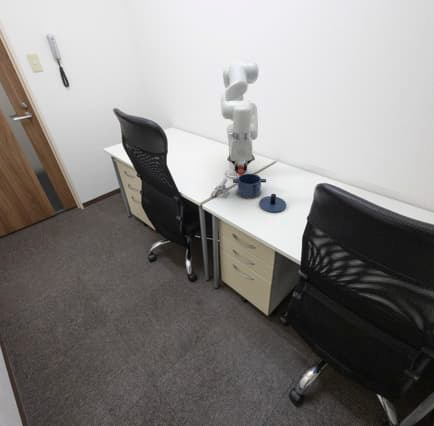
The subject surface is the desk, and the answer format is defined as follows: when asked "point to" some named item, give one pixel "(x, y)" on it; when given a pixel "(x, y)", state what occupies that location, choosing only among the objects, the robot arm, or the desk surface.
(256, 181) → the pot
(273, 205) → the lid
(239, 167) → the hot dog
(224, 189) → the tablet stand
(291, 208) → the desk surface
